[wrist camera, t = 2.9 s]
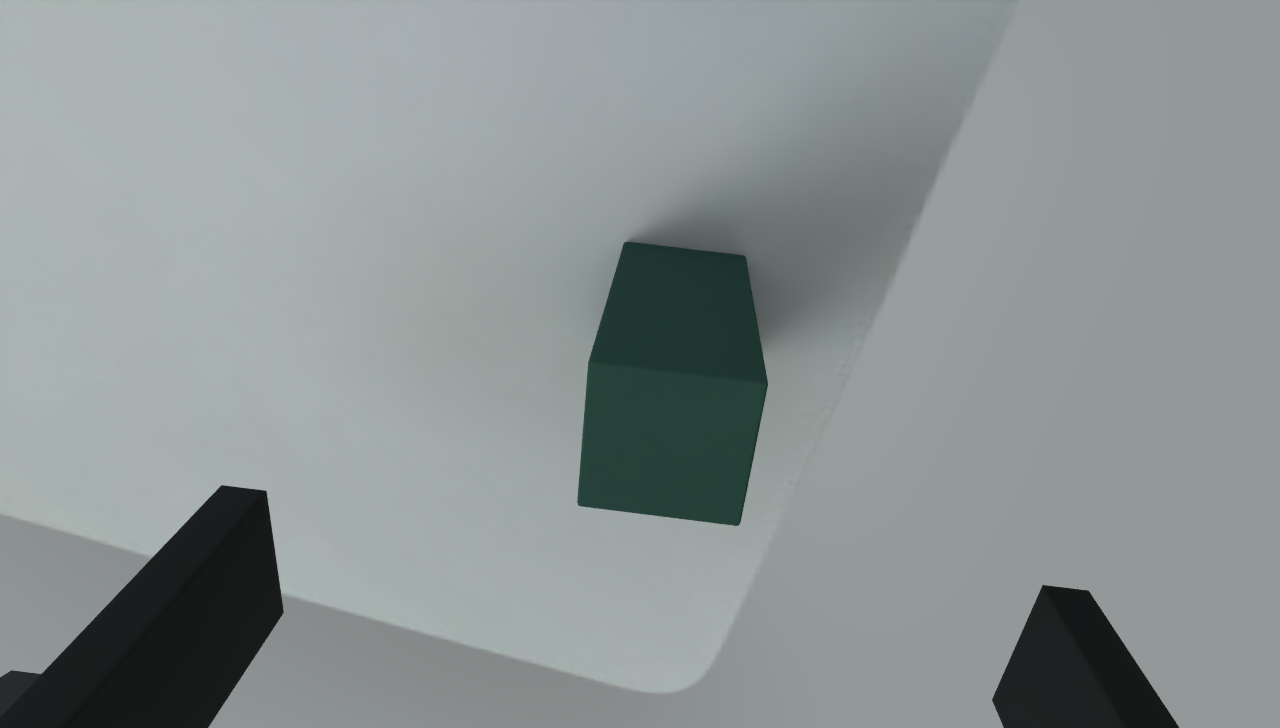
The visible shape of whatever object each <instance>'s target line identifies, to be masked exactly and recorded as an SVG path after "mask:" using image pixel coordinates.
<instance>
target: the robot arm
mask: <svg viewBox="0 0 1280 728" xmlns="http://www.w3.org/2000/svg"><path fill="white" fill-rule="evenodd" d="M282 614H283V604H282V597H281V590H280V583H279V576H278V569H277V562H276V555H275V548H274V541H273V534H272V527H271V520H270V513H269V506H268V499H267V492H266V491H264V490H256V489H247V488H239V487H231V486H223V485H221V486H220V487H219V489H218V490H217V491H216V492H215V493H214V494H213V495H212V496H211V497H210V498H209V499H208V500H207V501H206V502H205V503H204V504H203V505H202V506H201V507H200V508H199V510H198V511H197V512H196V513H195V514H194V515H193V516H192V517H191V518H190V519H189V520H188V521H187V522H186V523H185V524H184V525H183V526H182V527H181V528H180V529H179V530H178V532H177V533H176V534H175V535H174V536H173V537H172V538H171V539H170V540H169V541H168V542H167V543H166V544H165V545H164V546H163V547H162V548H161V549H160V550H159V551H158V553H157V554H156V555H155V556H154V557H153V558H152V559H151V560H150V561H149V562H148V563H147V564H146V565H145V566H144V567H143V568H142V569H141V570H140V571H139V573H138V574H137V575H136V576H135V577H134V578H133V579H132V580H131V581H130V582H129V583H128V584H127V585H126V586H125V587H124V588H123V589H122V590H121V591H120V592H119V593H118V595H117V596H116V597H115V598H114V599H113V600H112V601H111V602H110V603H109V604H108V605H107V606H106V607H105V608H104V609H103V610H102V611H101V612H100V614H99V615H97V617H96V618H95V619H94V620H93V621H92V622H91V623H90V624H89V625H88V626H87V627H86V628H85V629H84V630H83V631H82V632H81V633H80V634H79V635H78V636H77V638H76V639H75V640H74V641H73V642H72V643H71V644H70V645H69V646H68V647H67V648H66V649H65V650H64V651H63V652H62V653H61V654H60V655H59V656H58V658H57V659H56V660H55V661H54V662H53V663H52V664H51V665H50V666H49V667H48V668H47V669H46V670H45V671H44V672H43V673H42V674H35V673H27V672H18V671H10V672H8V673H7V674H5V675H4V676H2V677H0V728H208V727H209V725H210V724H211V722H212V721H213V719H214V718H215V716H216V715H217V713H218V711H219V710H220V709H221V707H222V706H223V704H224V702H225V701H226V699H227V698H228V697H229V695H230V693H231V692H232V690H233V689H234V687H235V686H236V684H237V683H238V681H239V680H240V678H241V677H242V675H243V674H244V672H245V670H246V669H247V668H248V666H249V665H250V663H251V661H252V660H253V659H254V657H255V655H256V654H257V652H258V651H259V649H260V648H261V646H262V645H263V643H264V642H265V640H266V639H267V637H268V636H269V634H270V633H271V631H272V630H273V628H274V626H275V625H276V624H277V622H278V620H279V619H280V617H281V616H282ZM992 701H993V703H994V706H995V708H996V710H997V712H998V715H999V717H1000V719H1001V722H1002V724H1003V727H1004V728H1179V727H1178V725H1177V724H1176V722H1175V720H1174V719H1173V718H1172V716H1171V714H1170V713H1169V712H1168V710H1167V708H1166V707H1165V705H1164V704H1163V703H1162V701H1161V699H1160V698H1159V696H1158V695H1157V693H1156V692H1155V690H1154V689H1153V688H1152V686H1151V684H1150V683H1149V681H1148V680H1147V678H1146V677H1145V675H1144V674H1143V672H1142V671H1141V669H1140V668H1139V666H1138V665H1137V663H1136V662H1135V660H1134V659H1133V657H1132V656H1131V654H1130V653H1129V651H1128V650H1127V648H1126V647H1125V645H1124V643H1123V642H1122V641H1121V639H1120V637H1119V636H1118V634H1117V633H1116V631H1115V630H1114V628H1113V627H1112V625H1111V624H1110V622H1109V621H1108V619H1107V618H1106V616H1105V615H1104V613H1103V612H1102V610H1101V609H1100V607H1099V606H1098V604H1097V603H1096V601H1095V600H1094V598H1093V597H1092V595H1091V594H1090V592H1089V591H1087V590H1079V589H1070V588H1062V587H1054V586H1045V585H1043V586H1042V588H1041V590H1040V593H1039V595H1038V597H1037V599H1036V602H1035V604H1034V606H1033V608H1032V611H1031V613H1030V615H1029V617H1028V620H1027V622H1026V624H1025V627H1024V629H1023V631H1022V634H1021V636H1020V638H1019V640H1018V642H1017V645H1016V647H1015V649H1014V651H1013V654H1012V656H1011V658H1010V660H1009V663H1008V665H1007V667H1006V669H1005V672H1004V674H1003V676H1002V679H1001V681H1000V683H999V685H998V688H997V690H996V692H995V695H994V697H993V699H992Z"/></svg>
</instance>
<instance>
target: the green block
mask: <svg viewBox="0 0 1280 728" xmlns="http://www.w3.org/2000/svg"><path fill="white" fill-rule="evenodd" d="M767 386H768V382H767V376H766V370H765V365H764V359H763V353H762V348H761V342H760V336H759V331H758V325H757V319H756V314H755V308H754V302H753V297H752V291H751V285H750V280H749V274H748V268H747V262H746V257H745V256H740V255H732V254H723V253H715V252H707V251H698V250H690V249H681V248H673V247H665V246H656V245H648V244H639V243H631V242H625V243H624V245H623V248H622V252H621V255H620V258H619V262H618V265H617V268H616V272H615V275H614V278H613V282H612V285H611V289H610V292H609V295H608V299H607V302H606V305H605V309H604V312H603V315H602V319H601V322H600V325H599V329H598V332H597V335H596V339H595V342H594V345H593V349H592V352H591V356H590V359H589V362H588V375H587V387H586V400H585V413H584V425H583V438H582V450H581V463H580V476H579V488H578V501H577V503H578V505H579V506H583V507H591V508H599V509H607V510H615V511H623V512H631V513H639V514H647V515H655V516H663V517H671V518H679V519H687V520H695V521H703V522H711V523H719V524H727V525H735V526H738V525H739V524H740V522H741V517H742V512H743V507H744V502H745V497H746V492H747V487H748V482H749V477H750V472H751V467H752V462H753V457H754V452H755V447H756V442H757V437H758V432H759V427H760V422H761V417H762V411H763V406H764V401H765V396H766V391H767Z"/></svg>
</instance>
